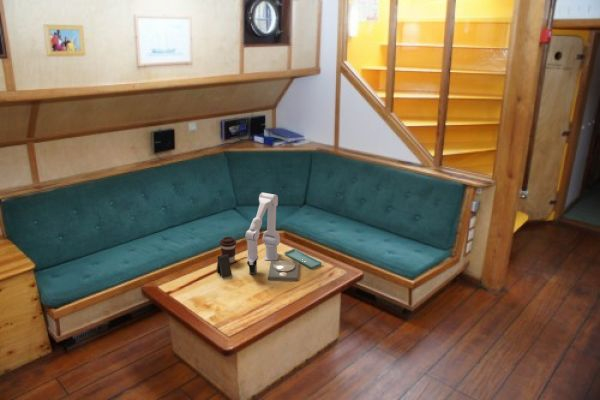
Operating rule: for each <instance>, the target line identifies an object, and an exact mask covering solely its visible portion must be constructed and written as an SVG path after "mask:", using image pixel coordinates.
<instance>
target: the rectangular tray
mask: <svg viewBox="0 0 600 400" xmlns="http://www.w3.org/2000/svg"><path fill="white" fill-rule="evenodd" d="M283 254H284V255H285V256H286V257H288V258H290V259H291V260H292V261H298V262H299V264H301V265H302V266H304V265H305V267H306V266H307V267H306V268H309V269H311V270H313V269H315V268H318V267H320V266H321V265H322V264H323V262H322V261H320V260H318V259H316V258H314V257H312V256H310V255H308V254H305V253H304V252H303V251H299V250H298V249H296V248H293V249H290V250H288V251H285V252H284V253H283ZM302 259H303V260H302ZM302 261H303V262H302ZM304 261H306V262H304Z"/></svg>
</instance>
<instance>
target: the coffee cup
mask: <svg viewBox="0 0 600 400" xmlns="http://www.w3.org/2000/svg"><path fill="white" fill-rule="evenodd" d="M236 244H237V240H236V239H235V238H234V237H232V236H225V237H223V238H221V240H220V241H219V245H220V250H221V255H225V254H227V255H229V261H230V264H232V263H234V262H235V260H236Z"/></svg>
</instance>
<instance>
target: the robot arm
mask: <svg viewBox="0 0 600 400" xmlns="http://www.w3.org/2000/svg"><path fill="white" fill-rule="evenodd" d="M258 203H259V205H258V209H257V213H256V215H255V217H254V218H252V221H251V224H250V226H249V228H248V229H247V230H246V232H245V235H244V237H245V240H246V243H247V254H246V255H245V258H247V261H246V264H247V266H248V268H250V272H251V273H254V271H255V266H256V264H257V265H258V259H259V255H258V254H259V253H258V240H259V238H260V230H261V227H262V225H263V217H264V216H265V213H266V211H267V221H266V222H267V223H266V227H267V228H266V229H267V230H265V231H263V235H262V243H263V244H264V246H265V256H264V260H265V261H278V258H279V252H278V246H279V244H280V242H281V237H280V233H279V232H278V231H277V230H276V225H277V224H276V223H277V222H276V221H277V217H276V216H277V207H278V204H279V196H278V195H277V194H272V193H269V192H268V193H267V192H261V193H260V194H259V196H258Z"/></svg>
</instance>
